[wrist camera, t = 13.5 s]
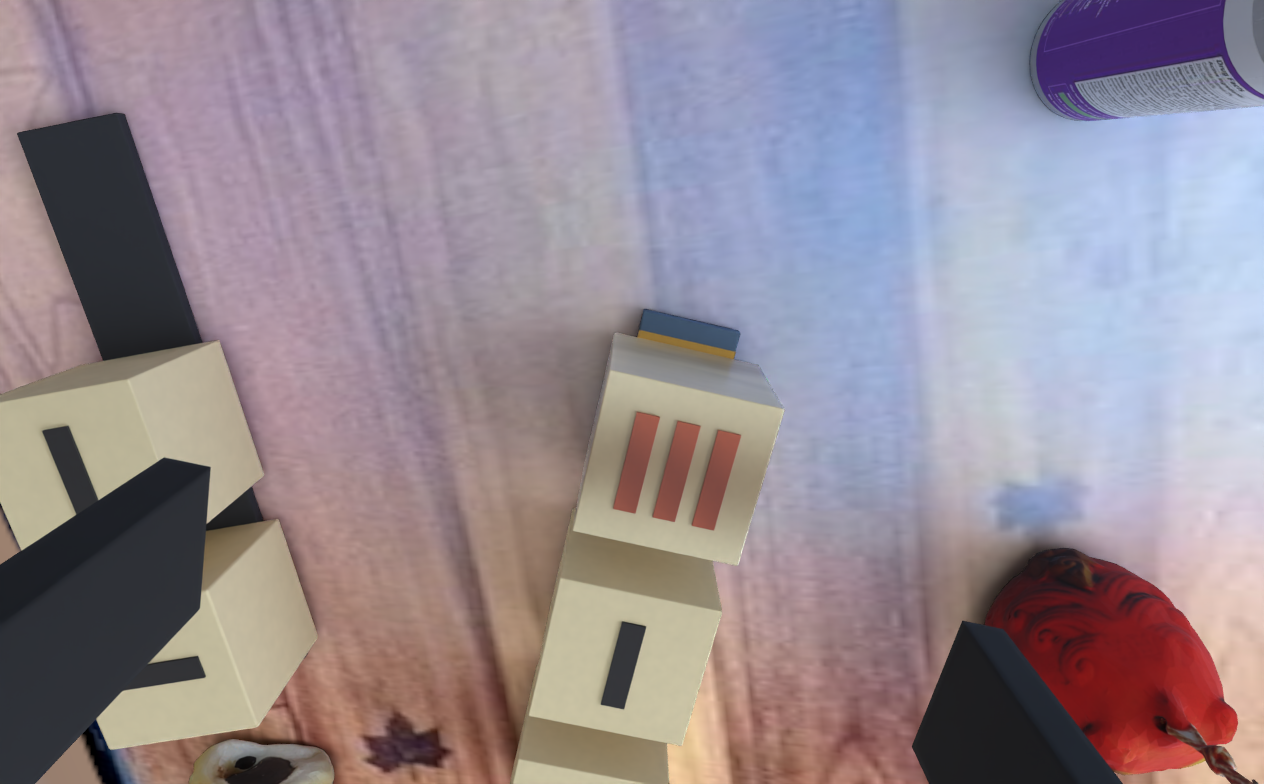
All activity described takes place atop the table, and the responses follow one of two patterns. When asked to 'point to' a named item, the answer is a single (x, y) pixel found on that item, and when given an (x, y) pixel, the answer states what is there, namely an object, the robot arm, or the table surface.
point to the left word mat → (115, 244)
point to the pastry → (262, 764)
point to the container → (1149, 57)
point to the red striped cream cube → (677, 450)
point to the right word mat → (622, 641)
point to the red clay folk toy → (1119, 663)
